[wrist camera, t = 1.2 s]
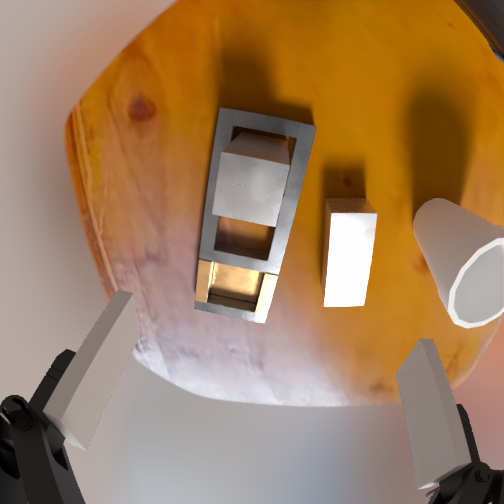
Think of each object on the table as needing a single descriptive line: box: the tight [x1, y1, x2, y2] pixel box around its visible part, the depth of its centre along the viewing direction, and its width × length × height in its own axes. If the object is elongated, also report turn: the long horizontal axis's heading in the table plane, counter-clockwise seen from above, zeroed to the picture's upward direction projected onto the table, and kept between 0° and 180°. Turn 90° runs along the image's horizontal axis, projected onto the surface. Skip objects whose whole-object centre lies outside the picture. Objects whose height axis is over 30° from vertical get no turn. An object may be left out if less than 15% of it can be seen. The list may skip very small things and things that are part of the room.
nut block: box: [321, 198, 377, 307], centre depth 32 cm, size 11×4×4 cm, turn 3°
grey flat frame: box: [194, 107, 316, 323], centre depth 32 cm, size 24×9×2 cm, turn 169°
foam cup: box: [413, 198, 504, 328], centre depth 25 cm, size 10×9×13 cm
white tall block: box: [212, 132, 290, 227], centre depth 25 cm, size 4×4×11 cm
